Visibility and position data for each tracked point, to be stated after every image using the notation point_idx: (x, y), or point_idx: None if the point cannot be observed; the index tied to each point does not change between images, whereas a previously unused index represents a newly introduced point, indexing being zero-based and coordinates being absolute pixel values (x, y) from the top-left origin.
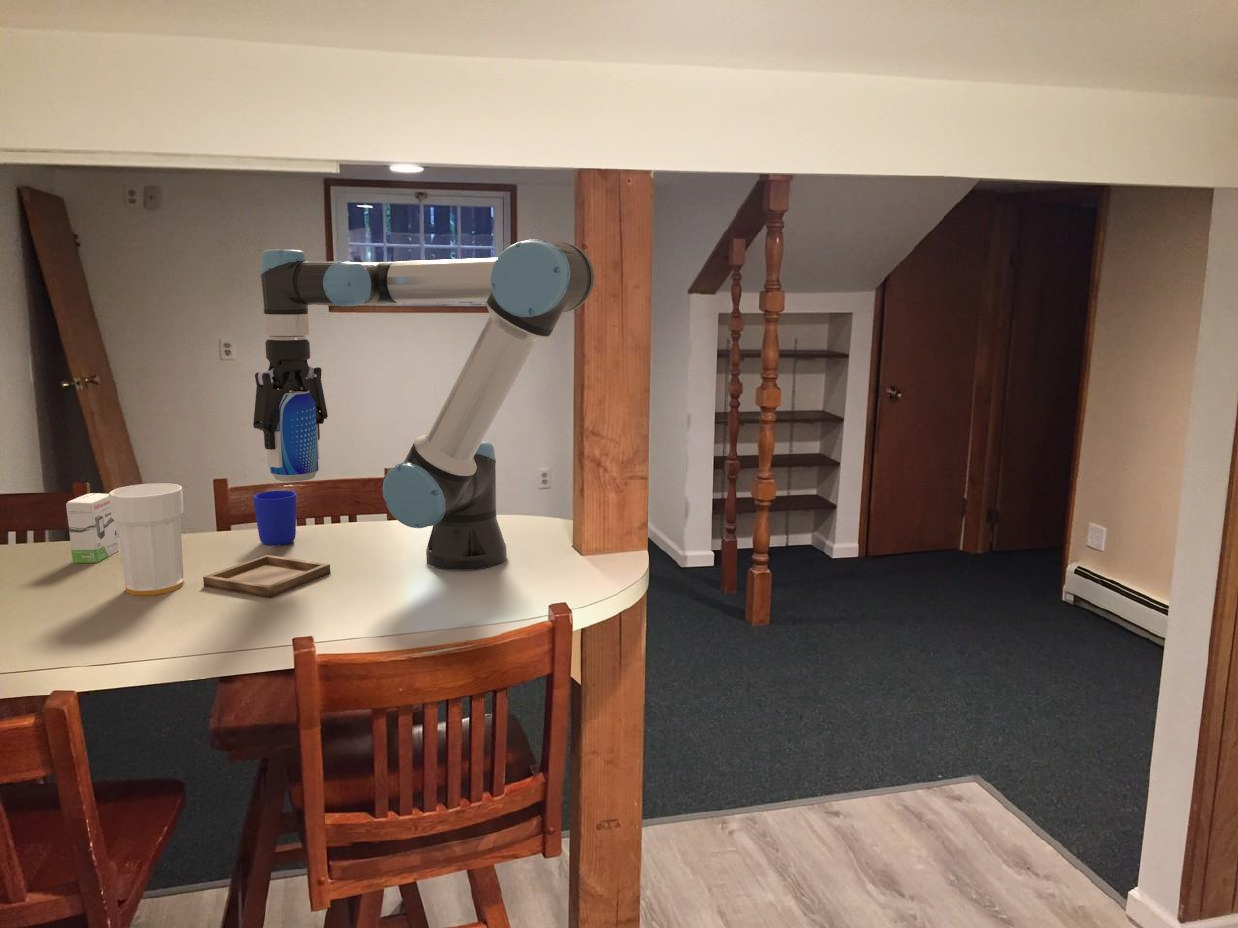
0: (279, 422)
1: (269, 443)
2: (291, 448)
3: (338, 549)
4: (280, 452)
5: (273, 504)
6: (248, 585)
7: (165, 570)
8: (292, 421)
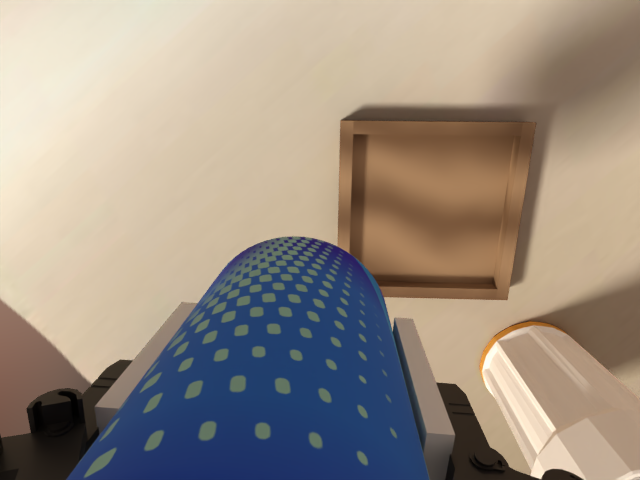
0: None
1: (470, 411)
2: (381, 325)
3: (190, 227)
4: (412, 353)
5: None
6: (526, 181)
7: (566, 348)
8: (391, 424)
